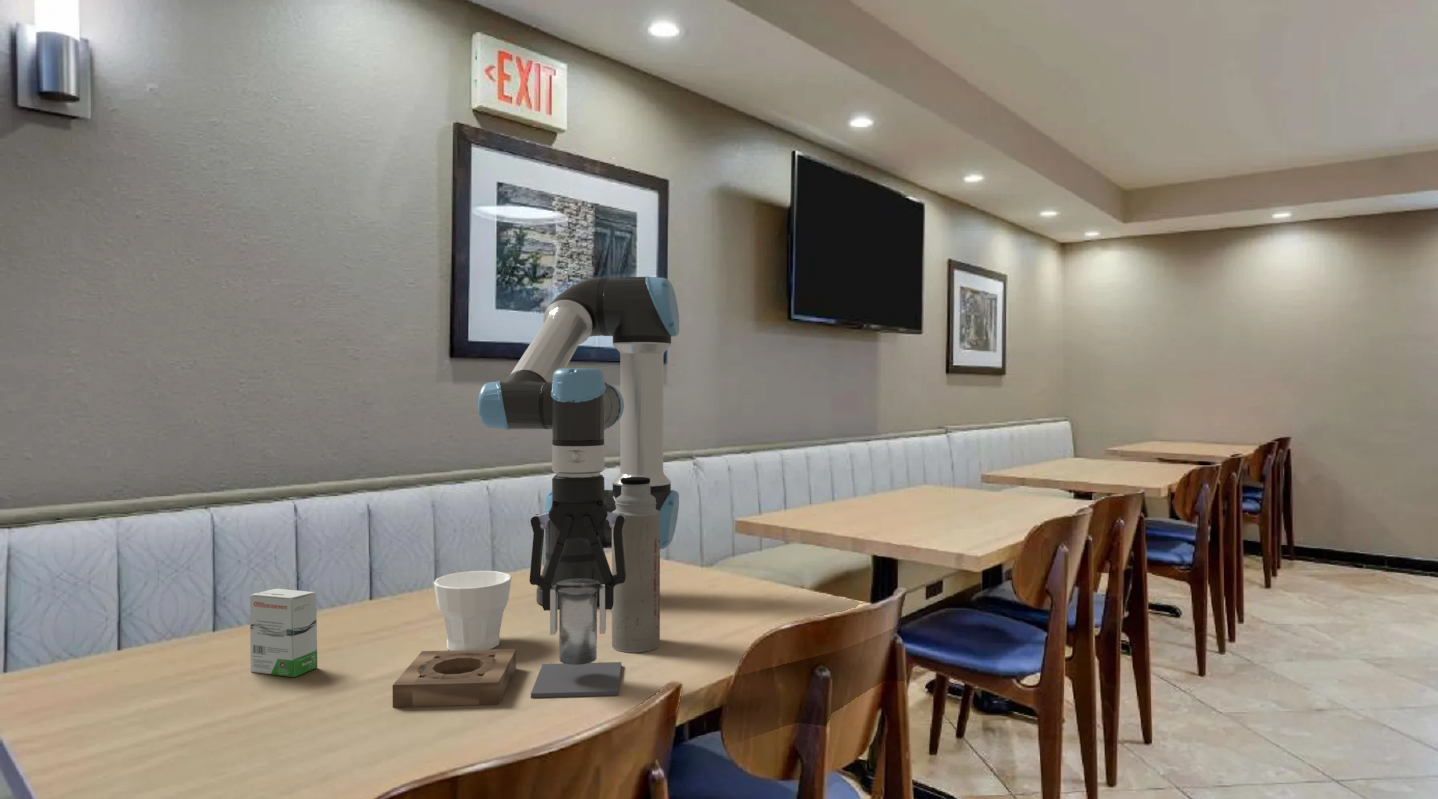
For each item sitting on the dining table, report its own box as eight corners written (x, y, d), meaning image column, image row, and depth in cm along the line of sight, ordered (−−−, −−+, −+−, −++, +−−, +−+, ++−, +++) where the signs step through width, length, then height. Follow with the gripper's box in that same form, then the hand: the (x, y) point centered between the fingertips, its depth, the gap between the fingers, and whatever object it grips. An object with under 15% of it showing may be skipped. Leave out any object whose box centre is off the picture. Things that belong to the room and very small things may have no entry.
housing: (422, 670, 124) (422, 651, 124) (516, 668, 125) (516, 648, 125) (392, 707, 110) (392, 685, 110) (498, 704, 111) (498, 682, 111)
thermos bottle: (665, 639, 139) (665, 475, 139) (652, 654, 132) (652, 480, 131) (620, 636, 141) (620, 474, 140) (605, 651, 133) (604, 479, 133)
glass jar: (558, 651, 122) (558, 578, 122) (601, 651, 123) (601, 578, 123) (553, 666, 116) (553, 589, 116) (598, 665, 116) (598, 588, 116)
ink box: (319, 668, 125) (318, 590, 125) (293, 678, 120) (292, 598, 120) (275, 661, 128) (275, 586, 128) (248, 671, 123) (247, 593, 123)
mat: (542, 667, 125) (542, 663, 125) (621, 665, 126) (621, 662, 126) (530, 697, 113) (530, 693, 113) (617, 695, 114) (617, 691, 114)
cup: (527, 639, 139) (527, 574, 139) (476, 661, 128) (476, 591, 128) (470, 630, 144) (470, 567, 144) (417, 650, 133) (416, 583, 133)
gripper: (506, 477, 115) (506, 640, 115) (644, 476, 116) (644, 638, 116) (515, 471, 122) (515, 625, 122) (645, 471, 124) (645, 622, 124)
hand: (578, 631), depth 119 cm, fingers closed on glass jar, 6 cm apart
